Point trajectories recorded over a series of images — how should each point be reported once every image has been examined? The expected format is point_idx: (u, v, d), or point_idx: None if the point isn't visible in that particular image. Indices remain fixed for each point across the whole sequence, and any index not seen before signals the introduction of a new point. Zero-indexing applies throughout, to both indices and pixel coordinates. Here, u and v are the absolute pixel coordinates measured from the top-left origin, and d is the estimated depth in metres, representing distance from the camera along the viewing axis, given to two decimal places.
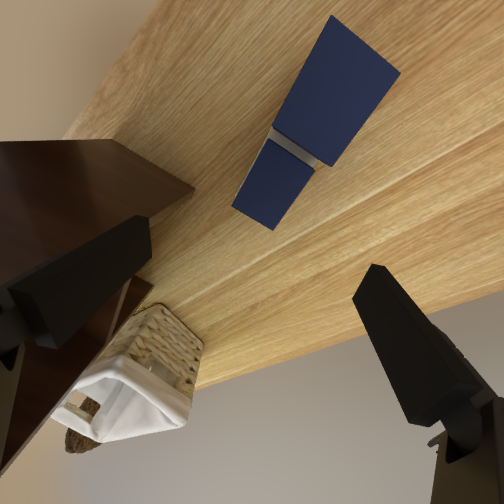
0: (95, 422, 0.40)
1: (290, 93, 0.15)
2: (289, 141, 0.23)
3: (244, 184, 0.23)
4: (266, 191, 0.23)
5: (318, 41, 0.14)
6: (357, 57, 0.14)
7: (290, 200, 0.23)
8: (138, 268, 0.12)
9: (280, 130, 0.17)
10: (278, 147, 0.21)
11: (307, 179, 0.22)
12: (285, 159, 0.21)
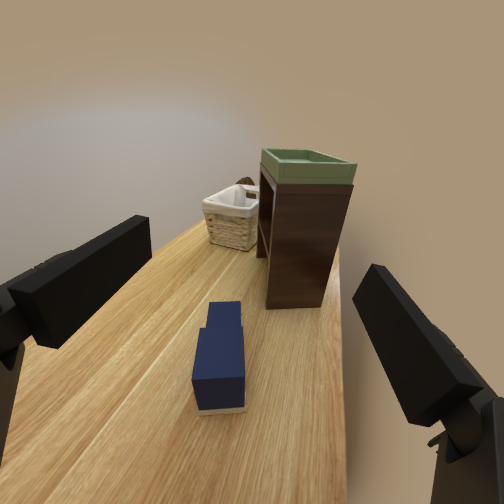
0: (243, 190, 0.77)
1: (242, 340, 0.27)
2: None
3: (239, 313, 0.37)
4: (226, 316, 0.36)
5: (243, 364, 0.25)
6: (219, 370, 0.24)
7: (209, 319, 0.35)
8: (138, 268, 0.12)
9: (237, 326, 0.29)
10: None
11: None
12: None
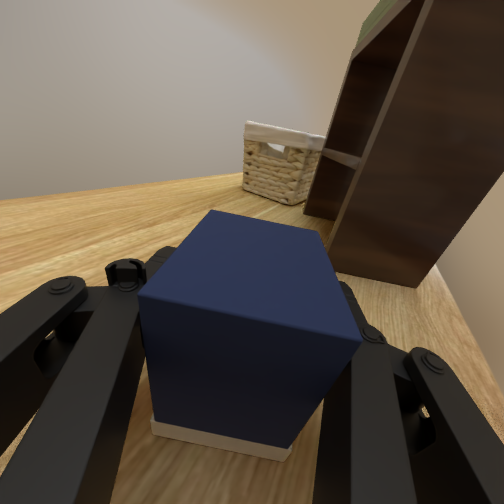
0: None
1: (324, 252, 0.09)
2: None
3: None
4: None
5: (345, 301, 0.07)
6: (257, 296, 0.06)
7: None
8: None
9: (303, 229, 0.11)
10: None
11: None
12: None
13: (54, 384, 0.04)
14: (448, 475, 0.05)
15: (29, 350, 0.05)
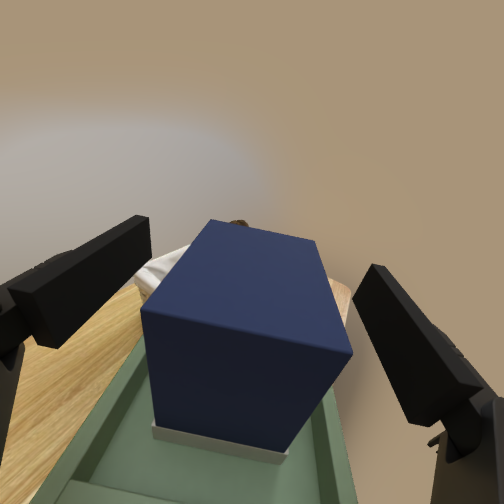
0: None
1: (320, 262, 0.10)
2: None
3: None
4: None
5: (338, 313, 0.07)
6: (253, 310, 0.06)
7: None
8: (138, 268, 0.12)
9: (300, 238, 0.12)
10: None
11: None
12: None
13: None
14: None
15: None
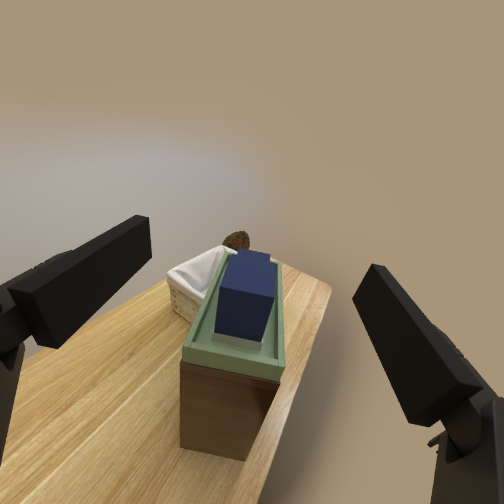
0: None
1: (274, 272, 0.26)
2: None
3: None
4: None
5: (274, 288, 0.23)
6: (249, 287, 0.23)
7: None
8: (138, 268, 0.12)
9: (269, 261, 0.28)
10: None
11: None
12: None
13: None
14: None
15: None
